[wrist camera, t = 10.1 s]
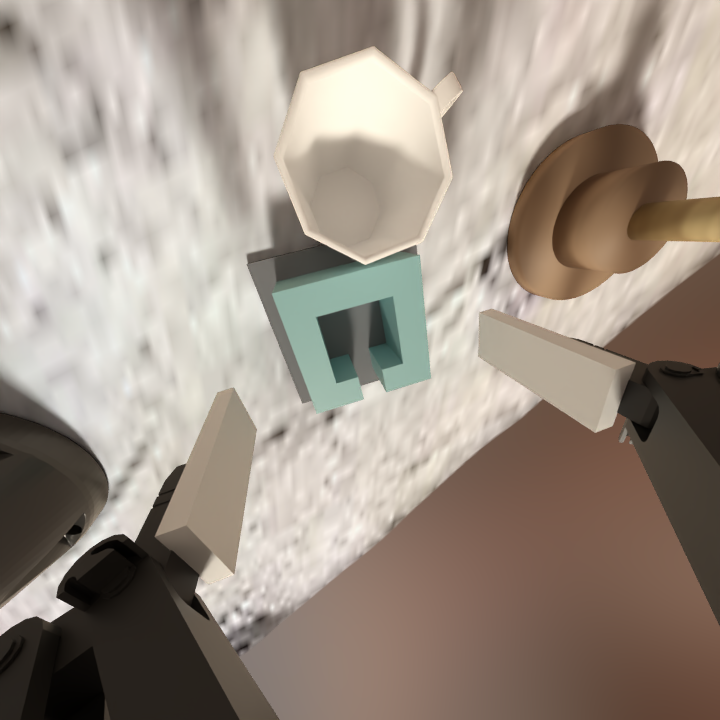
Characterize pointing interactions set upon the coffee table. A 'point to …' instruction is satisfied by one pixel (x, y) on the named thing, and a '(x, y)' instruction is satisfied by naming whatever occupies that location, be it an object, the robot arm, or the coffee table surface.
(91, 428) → the coffee table surface
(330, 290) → the link
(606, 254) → the stand
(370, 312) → the mat
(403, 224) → the cup
